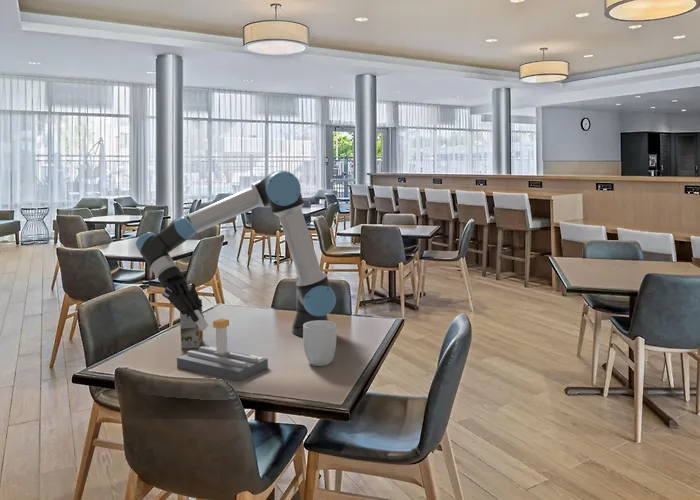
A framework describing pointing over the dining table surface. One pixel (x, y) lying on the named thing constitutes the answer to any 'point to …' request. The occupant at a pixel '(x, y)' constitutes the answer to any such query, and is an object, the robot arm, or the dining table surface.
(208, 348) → the switch panel
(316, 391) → the dining table surface
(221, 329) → the lever
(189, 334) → the coffee box
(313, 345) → the mug
